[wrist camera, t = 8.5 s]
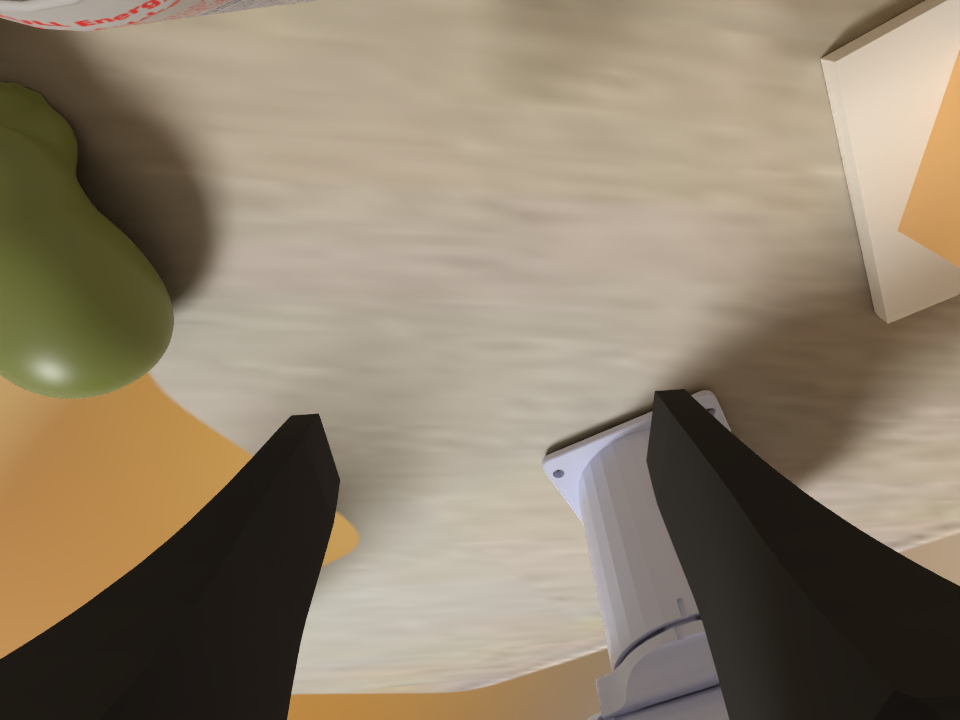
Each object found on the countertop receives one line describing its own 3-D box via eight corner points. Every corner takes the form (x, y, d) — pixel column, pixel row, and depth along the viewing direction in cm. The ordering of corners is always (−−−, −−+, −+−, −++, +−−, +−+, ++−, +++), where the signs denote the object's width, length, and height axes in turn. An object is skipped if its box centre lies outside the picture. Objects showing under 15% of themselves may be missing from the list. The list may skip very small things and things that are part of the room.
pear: (-8, 444, 17) (-270, 108, 13) (105, 369, 22) (-64, 105, 18) (145, 405, 16) (-87, 30, 12) (228, 335, 21) (79, 48, 17)
